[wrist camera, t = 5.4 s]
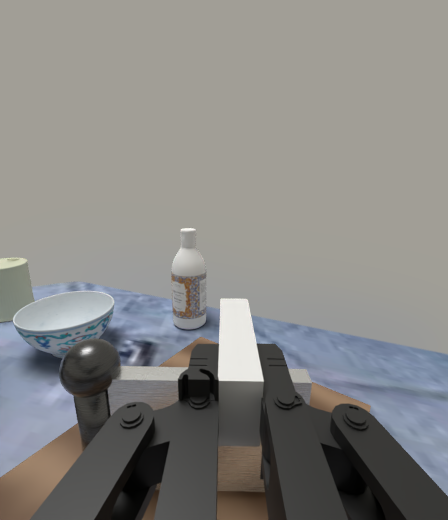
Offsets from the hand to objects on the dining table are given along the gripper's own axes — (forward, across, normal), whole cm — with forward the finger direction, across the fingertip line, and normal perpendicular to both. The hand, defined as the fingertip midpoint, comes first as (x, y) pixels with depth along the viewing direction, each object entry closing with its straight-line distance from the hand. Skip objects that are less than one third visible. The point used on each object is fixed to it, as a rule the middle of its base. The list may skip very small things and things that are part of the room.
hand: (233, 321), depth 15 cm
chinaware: (+29, -27, -22) cm, 45 cm away
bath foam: (+39, -8, -22) cm, 45 cm away
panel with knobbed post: (+5, -3, -19) cm, 20 cm away
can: (+42, -48, -21) cm, 67 cm away
